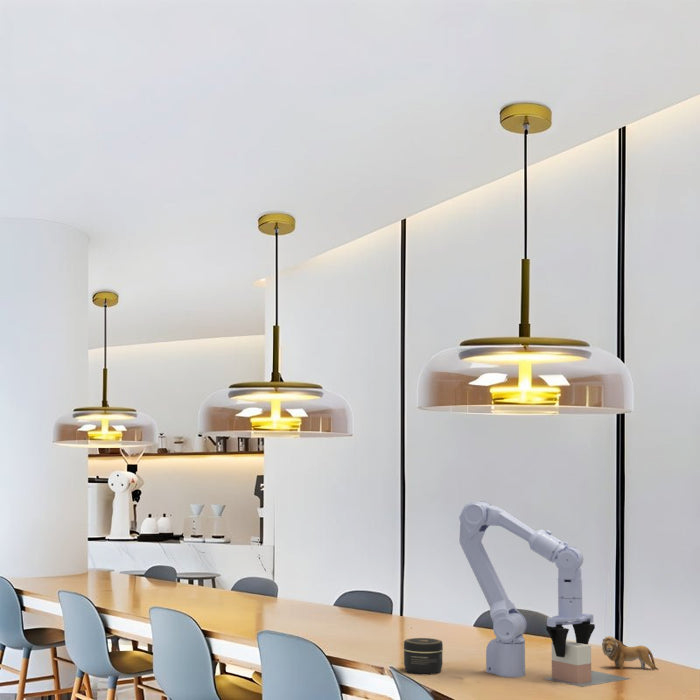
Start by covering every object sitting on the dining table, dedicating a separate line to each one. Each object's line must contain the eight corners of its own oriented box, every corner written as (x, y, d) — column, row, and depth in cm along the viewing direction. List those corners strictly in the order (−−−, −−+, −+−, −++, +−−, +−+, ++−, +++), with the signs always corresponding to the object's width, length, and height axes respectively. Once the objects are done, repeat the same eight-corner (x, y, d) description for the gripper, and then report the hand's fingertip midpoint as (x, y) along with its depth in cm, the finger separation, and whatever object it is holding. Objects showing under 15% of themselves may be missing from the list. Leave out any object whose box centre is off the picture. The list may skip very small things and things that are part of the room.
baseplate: (543, 682, 241) (543, 678, 241) (592, 674, 252) (592, 670, 252) (581, 691, 232) (581, 686, 232) (631, 682, 242) (631, 678, 242)
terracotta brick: (551, 678, 242) (551, 660, 242) (565, 675, 245) (565, 658, 245) (577, 683, 235) (577, 665, 236) (591, 681, 238) (591, 663, 239)
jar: (408, 666, 260) (408, 636, 261) (446, 669, 257) (446, 638, 258) (399, 673, 250) (399, 642, 251) (439, 676, 248) (438, 644, 249)
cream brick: (551, 660, 242) (551, 642, 243) (565, 658, 245) (565, 640, 246) (577, 665, 236) (577, 647, 236) (591, 663, 239) (591, 645, 239)
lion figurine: (606, 674, 253) (605, 638, 254) (599, 670, 258) (598, 634, 259) (662, 674, 253) (661, 638, 255) (655, 670, 259) (654, 634, 260)
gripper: (562, 601, 235) (563, 660, 233) (602, 597, 243) (604, 654, 242) (540, 598, 241) (540, 656, 239) (580, 594, 249) (581, 650, 247)
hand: (571, 655), depth 241 cm, fingers open, 7 cm apart
